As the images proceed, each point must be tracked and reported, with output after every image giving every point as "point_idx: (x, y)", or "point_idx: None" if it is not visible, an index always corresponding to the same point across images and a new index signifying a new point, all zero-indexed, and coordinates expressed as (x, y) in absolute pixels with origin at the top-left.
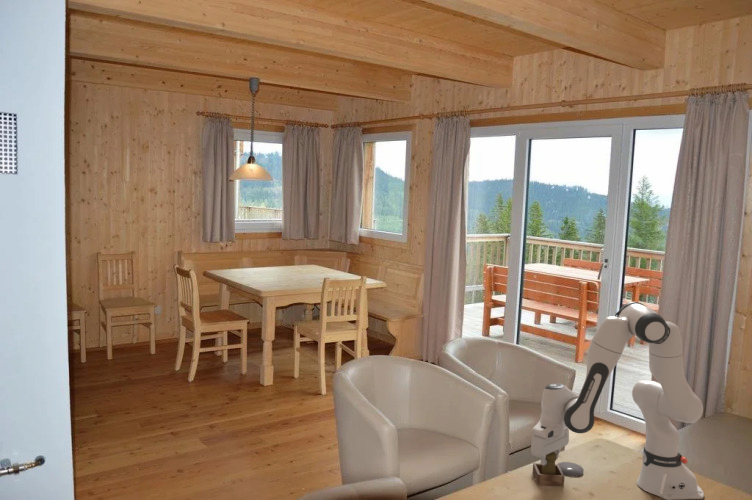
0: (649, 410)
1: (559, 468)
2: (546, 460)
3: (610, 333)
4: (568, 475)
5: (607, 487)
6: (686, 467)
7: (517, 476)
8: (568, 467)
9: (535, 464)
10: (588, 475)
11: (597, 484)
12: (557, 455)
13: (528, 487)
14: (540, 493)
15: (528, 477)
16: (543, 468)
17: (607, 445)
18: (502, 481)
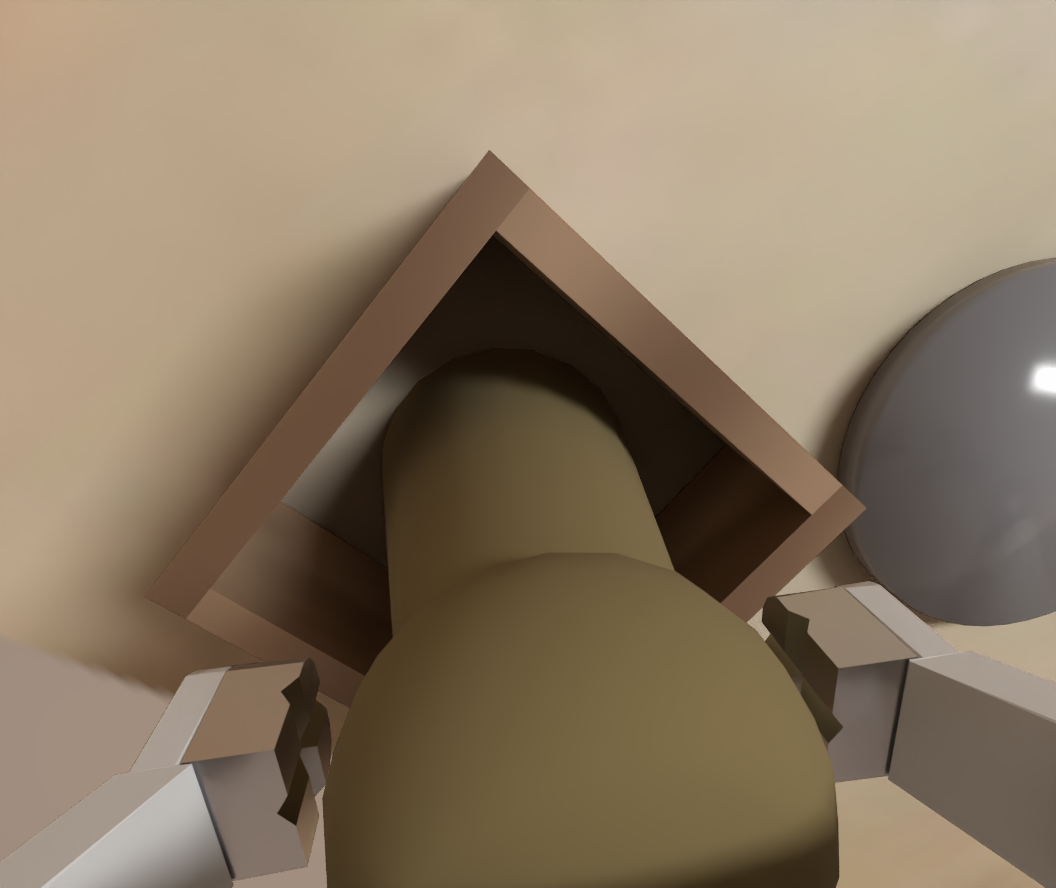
0: None
1: (734, 612)
2: (283, 868)
3: None
4: (848, 538)
5: (901, 862)
6: None
7: (90, 94)
8: (1041, 442)
9: (470, 244)
10: (1030, 639)
11: (890, 795)
12: (885, 768)
13: (22, 480)
14: (88, 667)
15: (274, 250)
16: (390, 549)
17: None
18: None
